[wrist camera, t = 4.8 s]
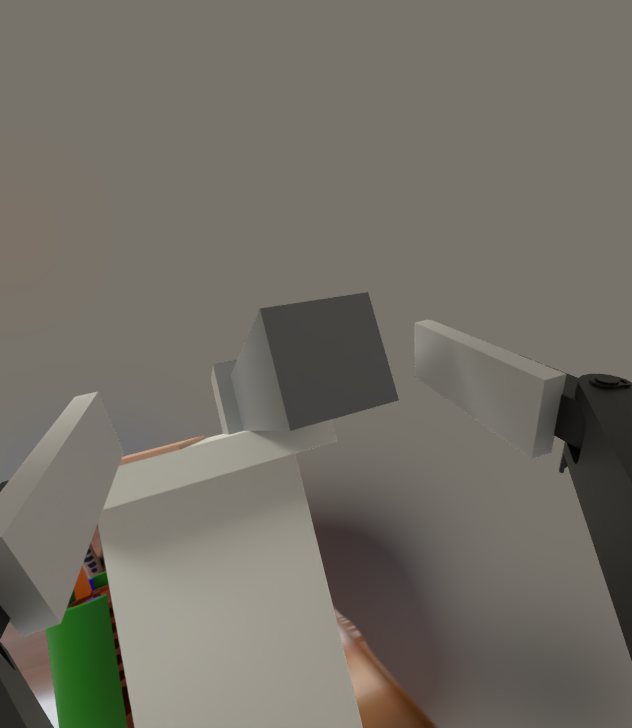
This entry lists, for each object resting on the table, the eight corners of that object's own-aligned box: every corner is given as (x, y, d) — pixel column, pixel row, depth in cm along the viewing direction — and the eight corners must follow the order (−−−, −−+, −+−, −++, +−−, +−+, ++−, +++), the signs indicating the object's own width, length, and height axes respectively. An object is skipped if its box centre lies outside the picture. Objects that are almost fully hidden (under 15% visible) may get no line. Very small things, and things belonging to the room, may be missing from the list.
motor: (162, 723, 39) (128, 543, 41) (65, 796, 33) (32, 583, 35) (144, 680, 46) (116, 532, 49) (63, 734, 41) (36, 563, 43)
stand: (129, 1214, 14) (16, 487, 17) (182, 857, 26) (108, 460, 29) (472, 959, 18) (327, 404, 21) (384, 749, 30) (299, 410, 33)
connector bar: (258, 439, 10) (221, 283, 11) (223, 433, 31) (211, 380, 31) (422, 393, 12) (384, 263, 13) (286, 416, 33) (274, 366, 33)
